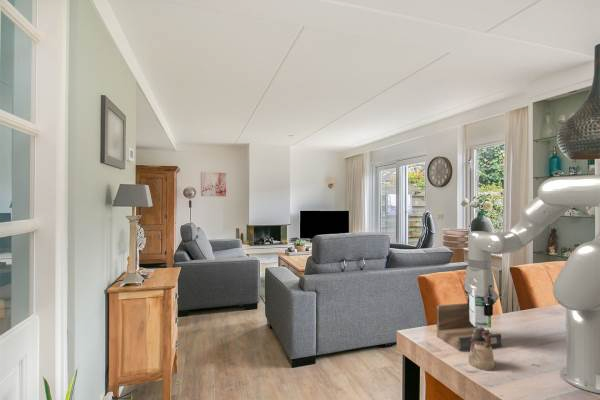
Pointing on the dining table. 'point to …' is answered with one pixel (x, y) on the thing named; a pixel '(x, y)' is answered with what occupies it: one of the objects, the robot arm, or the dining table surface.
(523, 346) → the dining table surface
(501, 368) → the dining table surface
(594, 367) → the robot arm
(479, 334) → the figurine
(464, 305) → the shelf
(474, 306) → the syrup box
